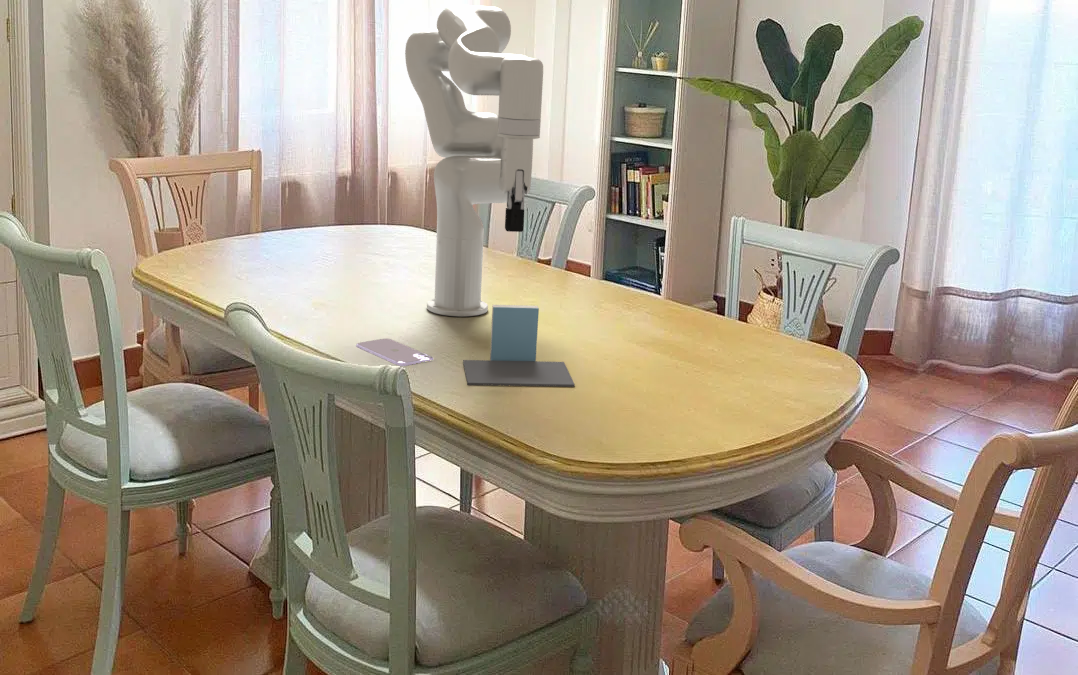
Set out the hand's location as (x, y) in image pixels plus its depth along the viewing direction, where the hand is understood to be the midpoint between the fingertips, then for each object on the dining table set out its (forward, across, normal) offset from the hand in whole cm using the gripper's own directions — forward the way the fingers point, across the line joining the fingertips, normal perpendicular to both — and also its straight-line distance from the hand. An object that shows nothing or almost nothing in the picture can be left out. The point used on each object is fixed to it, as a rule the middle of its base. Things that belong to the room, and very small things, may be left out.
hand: (513, 230), depth 213 cm
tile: (+22, +9, 0) cm, 24 cm away
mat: (+22, +17, 0) cm, 28 cm away
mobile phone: (+22, +6, -21) cm, 31 cm away
